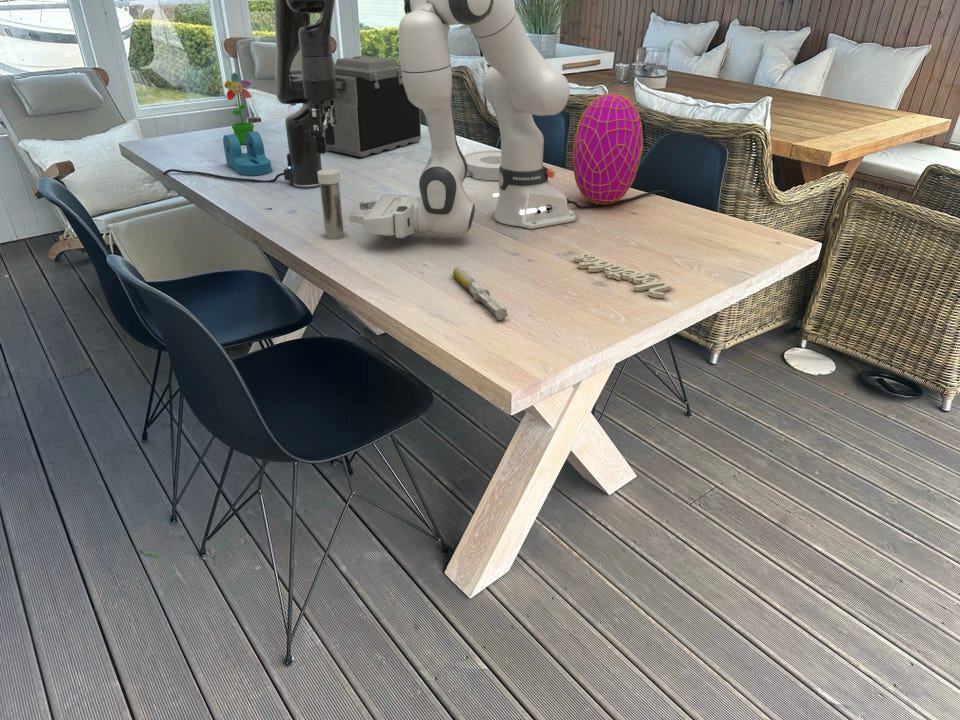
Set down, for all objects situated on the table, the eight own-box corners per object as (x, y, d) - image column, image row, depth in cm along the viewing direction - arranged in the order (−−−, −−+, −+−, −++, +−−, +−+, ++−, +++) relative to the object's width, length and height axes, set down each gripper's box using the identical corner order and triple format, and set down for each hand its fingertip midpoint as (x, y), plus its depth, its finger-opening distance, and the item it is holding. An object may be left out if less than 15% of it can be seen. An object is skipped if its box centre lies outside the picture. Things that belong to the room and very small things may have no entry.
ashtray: (462, 161, 240) (462, 149, 238) (529, 162, 239) (529, 150, 237) (459, 179, 220) (459, 167, 218) (531, 181, 220) (531, 168, 217)
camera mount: (227, 164, 233) (221, 132, 227) (257, 160, 238) (252, 129, 233) (244, 176, 220) (239, 143, 215) (276, 172, 225) (271, 139, 220)
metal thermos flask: (328, 232, 178) (321, 170, 170) (345, 232, 178) (340, 171, 170) (323, 238, 174) (316, 176, 166) (341, 239, 174) (335, 176, 166)
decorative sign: (686, 282, 150) (660, 295, 144) (686, 286, 150) (659, 300, 144) (592, 249, 166) (565, 259, 160) (592, 253, 167) (565, 263, 161)
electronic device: (383, 133, 276) (378, 52, 261) (425, 141, 265) (422, 56, 250) (314, 150, 251) (304, 61, 235) (358, 160, 240) (350, 67, 224)
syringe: (449, 274, 155) (449, 263, 153) (465, 272, 156) (464, 260, 154) (490, 323, 135) (491, 310, 133) (508, 319, 136) (508, 307, 134)
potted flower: (235, 145, 255) (223, 73, 243) (231, 141, 261) (219, 70, 249) (261, 143, 259) (250, 72, 247) (256, 139, 265) (246, 69, 252)
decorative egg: (611, 217, 189) (624, 103, 174) (555, 202, 201) (562, 94, 185) (647, 202, 202) (662, 94, 186) (592, 188, 213) (602, 86, 198)
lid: (321, 178, 171) (320, 168, 170) (342, 178, 171) (341, 169, 170) (315, 184, 167) (314, 174, 165) (337, 184, 166) (336, 175, 165)
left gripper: (311, 71, 163) (318, 141, 171) (293, 81, 151) (302, 156, 159) (342, 72, 162) (348, 142, 171) (327, 81, 150) (334, 156, 158)
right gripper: (417, 189, 177) (365, 187, 179) (399, 215, 160) (341, 212, 161) (418, 213, 181) (367, 210, 182) (400, 240, 163) (344, 237, 165)
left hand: (326, 148), depth 165 cm, fingers open, 8 cm apart
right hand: (355, 211), depth 172 cm, fingers open, 8 cm apart
